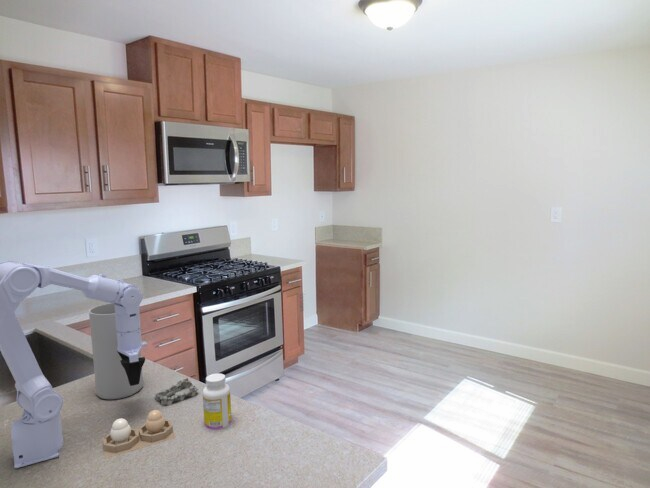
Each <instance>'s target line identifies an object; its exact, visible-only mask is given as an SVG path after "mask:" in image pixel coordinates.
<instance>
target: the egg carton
mask: <svg viewBox="0 0 650 488" xmlns="http://www.w3.org/2000/svg"><path fill="white" fill-rule="evenodd" d="M184 389H188V390H189V391H187V392H183V394H176V393H178V392H181V391H182V390H184ZM198 390H199V388H198V387H196V385H193V383H192V381H190V380H189V378H188V377H186V378H183V379H181V380H179V381H177V383H176V384H173V385H171V386H170V387H168V388H164V389H162V390H160V391H159V392H155V393H154V396H155V400H156V401H160V404H161V405H162V406H166V405H167V406H171V405H173V403H174V402H175V401H178V402H179V401H180V402H181V401H184V400H185V398H186V397H195V396H196V394H197V393H198ZM164 397H166V398H164Z"/></svg>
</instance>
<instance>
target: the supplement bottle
mask: <svg viewBox="0 0 650 488" xmlns="http://www.w3.org/2000/svg"><path fill="white" fill-rule="evenodd" d="M205 384H206V386H205V387H204V388H203V390H202V405H203V420H204V421H203V423H204V426H205V428H207V429H209V430H220V429H224V428H226V427H228V426H230V425H231V423H232V420H233V419H232V401H231V388H230V386H229V384H227V383H226V375H225V374H223V373H211V374H209V375H207V376H206V377H205Z"/></svg>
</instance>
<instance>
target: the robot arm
mask: <svg viewBox="0 0 650 488" xmlns="http://www.w3.org/2000/svg"><path fill="white" fill-rule="evenodd" d="M49 285H54V286H58V287H63V288H69V289H74V290H76V291H77V290H78V291H82V293H83V295H84V297H86V298H87V299H92V300H96V301H101V302H104V303H107V304H109V303H113V304H114V305H115V318H116V330H117V343H118V347H117V352H118V354H119V355H120V357H121V359H122V360H120V362H121V365H122V366H123V367H124V369H125V372H126V374H127V377H128V381H129V384H130V386H133V385H137V384H139V382H140V375H141V370H142V371H143V366H144V365H145V362H146V358H145V356H141V358H138V354H139V352H140V350H141V351H142V349H143V348H144V347H147V346H148V345H147V344H148V343H147V341H143V340H142V332H141V331H142V330H141V329H142V328H141V315H140V314H141V313H140V305H141V303H142V301H143V299H144V294H143V293H142V292H141V289H140V288H139V287H138V286H137V285H134V284H130V283H126V282H125V281H124V280H122V279H119V278H118V279H117V280H115V279H111V278H108V277H107V274H102V273H98V275H97V274H92V275H90V276H87V277H83V276H80V275H77V274H73V273H70V272H67V271H63V270H59V269H56V268H52V267H50V266H46V265H39V264H33V263H25V262H22V263H18V261H13V260H5V261H1V262H0V352H1V355H2V357H3V359H4V360H5V363H6V365H7V367H8V369H9V371H10V373H11V375H12V378H13V379H14V381H15V384H14V387H15V390H16V393H17V394H16V403H17V405H18V407H20V408H21V409H23V412H22V414H21V416H22V417H21V418H19V419H16V420H13V421H12V422H11V424H10V425H11V428H10V429H11V430H10V432H11V433H10V435H11V436H10V437H11V447H12V448H11V449H12V455H13V462H14V469H19V468H21V467H22V468H23V467H25V466H29V465H30V466H31V465H33V464H37V463H40V462H41V463H42V462H43V461H48V460H51V459H55V458H59V457H60V449H61V448H63V446H64V437H63V426H62V419H61V418H62V417H61V411H62V408H63V407H64V406H63V405H64V398H63V396H62V394H61V393H60V392H58V391H56V390H54V388H53V386H52V384H51V383H50V381H49V379H47V377H45V375H44V374H43V372H42V369H41V367H40V366H39V365H40V364H39V363H38V361H37V359H36V357H35V354H34V352H33V350H32V348H31V345H30V344H29V342H28V340H27V337H26V336H25V335H26V334H25V333H24V331H23V329H22V326H21V324H20V322H19V320H18V318H17V316H16V313H15V311H16V310H17V308H18V307H19V306H20V304H21V302H23V301H24V300H25V299H26V298H27V297H29V296H30V295H31V294H32V293H33V292H35V290H36V289H38V288H40V289H43V288H46V287H48V286H49ZM116 304H118V305H116Z"/></svg>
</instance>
